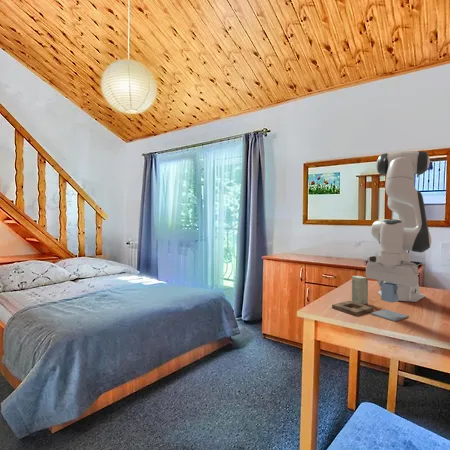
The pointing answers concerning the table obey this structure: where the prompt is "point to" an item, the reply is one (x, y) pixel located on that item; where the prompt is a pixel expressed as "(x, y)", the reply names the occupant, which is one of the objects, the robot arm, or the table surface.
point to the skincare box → (360, 289)
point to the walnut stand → (345, 308)
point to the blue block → (389, 292)
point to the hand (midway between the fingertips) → (390, 293)
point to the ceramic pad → (389, 315)
